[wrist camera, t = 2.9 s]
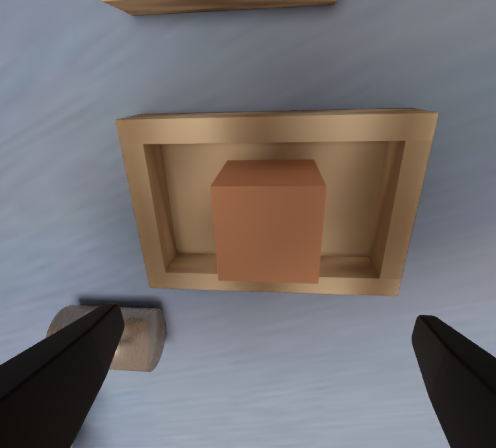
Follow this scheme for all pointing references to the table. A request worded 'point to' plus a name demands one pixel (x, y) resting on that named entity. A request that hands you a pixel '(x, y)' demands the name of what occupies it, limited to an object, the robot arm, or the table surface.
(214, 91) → the table surface
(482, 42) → the table surface
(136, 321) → the grey rounded piece
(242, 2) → the oak box
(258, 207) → the cube
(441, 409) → the robot arm
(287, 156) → the birch box
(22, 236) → the table surface
